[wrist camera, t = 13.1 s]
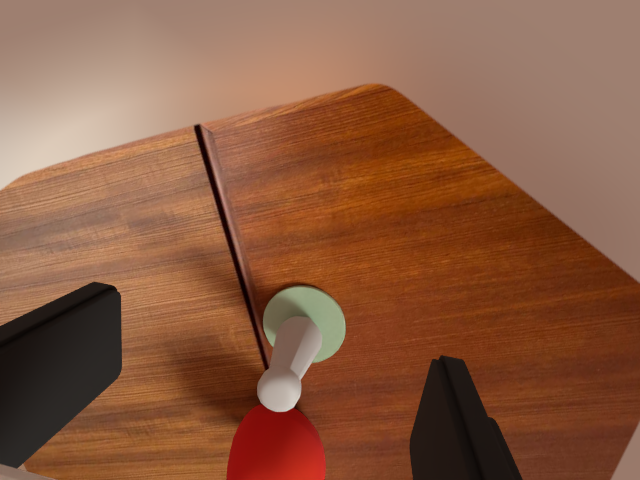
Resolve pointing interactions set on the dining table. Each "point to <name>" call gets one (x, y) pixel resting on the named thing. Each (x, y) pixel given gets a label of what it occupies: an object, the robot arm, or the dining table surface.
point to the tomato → (276, 447)
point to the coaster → (307, 305)
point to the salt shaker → (289, 363)
